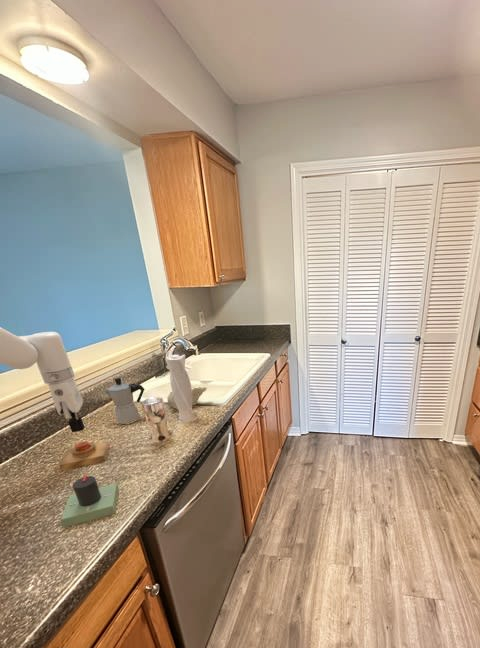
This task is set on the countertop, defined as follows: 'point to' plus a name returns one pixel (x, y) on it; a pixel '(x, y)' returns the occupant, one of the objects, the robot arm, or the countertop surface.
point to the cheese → (195, 396)
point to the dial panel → (90, 507)
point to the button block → (84, 456)
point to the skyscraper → (181, 386)
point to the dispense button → (82, 446)
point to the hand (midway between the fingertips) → (78, 430)
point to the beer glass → (156, 419)
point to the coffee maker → (125, 400)
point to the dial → (87, 491)
